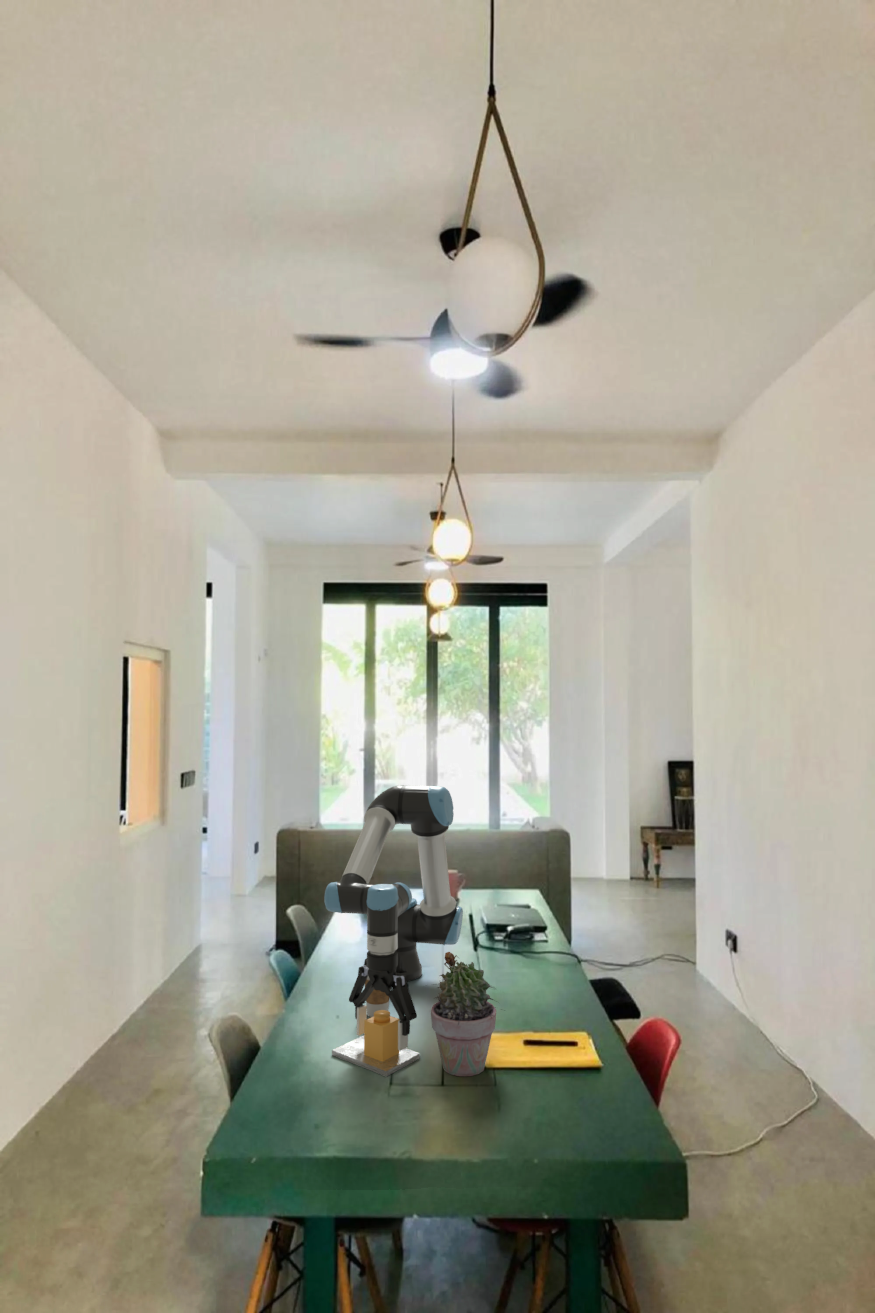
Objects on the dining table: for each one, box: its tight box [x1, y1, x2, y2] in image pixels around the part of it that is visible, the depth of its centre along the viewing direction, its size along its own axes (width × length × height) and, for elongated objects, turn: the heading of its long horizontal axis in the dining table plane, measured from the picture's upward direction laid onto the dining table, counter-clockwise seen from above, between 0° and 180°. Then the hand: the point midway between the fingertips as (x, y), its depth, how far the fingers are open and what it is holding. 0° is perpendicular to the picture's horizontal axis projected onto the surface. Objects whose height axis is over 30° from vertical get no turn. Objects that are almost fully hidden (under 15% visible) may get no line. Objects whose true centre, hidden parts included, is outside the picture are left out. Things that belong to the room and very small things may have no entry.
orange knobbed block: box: [364, 1010, 400, 1062], centre depth 183 cm, size 6×6×10 cm
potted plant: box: [424, 951, 506, 1077], centre depth 179 cm, size 18×20×25 cm
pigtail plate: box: [331, 1034, 421, 1078], centre depth 184 cm, size 18×12×6 cm, turn 51°
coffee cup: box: [362, 957, 390, 1018], centre depth 211 cm, size 8×8×15 cm
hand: (381, 1041), depth 183 cm, fingers open, 13 cm apart
